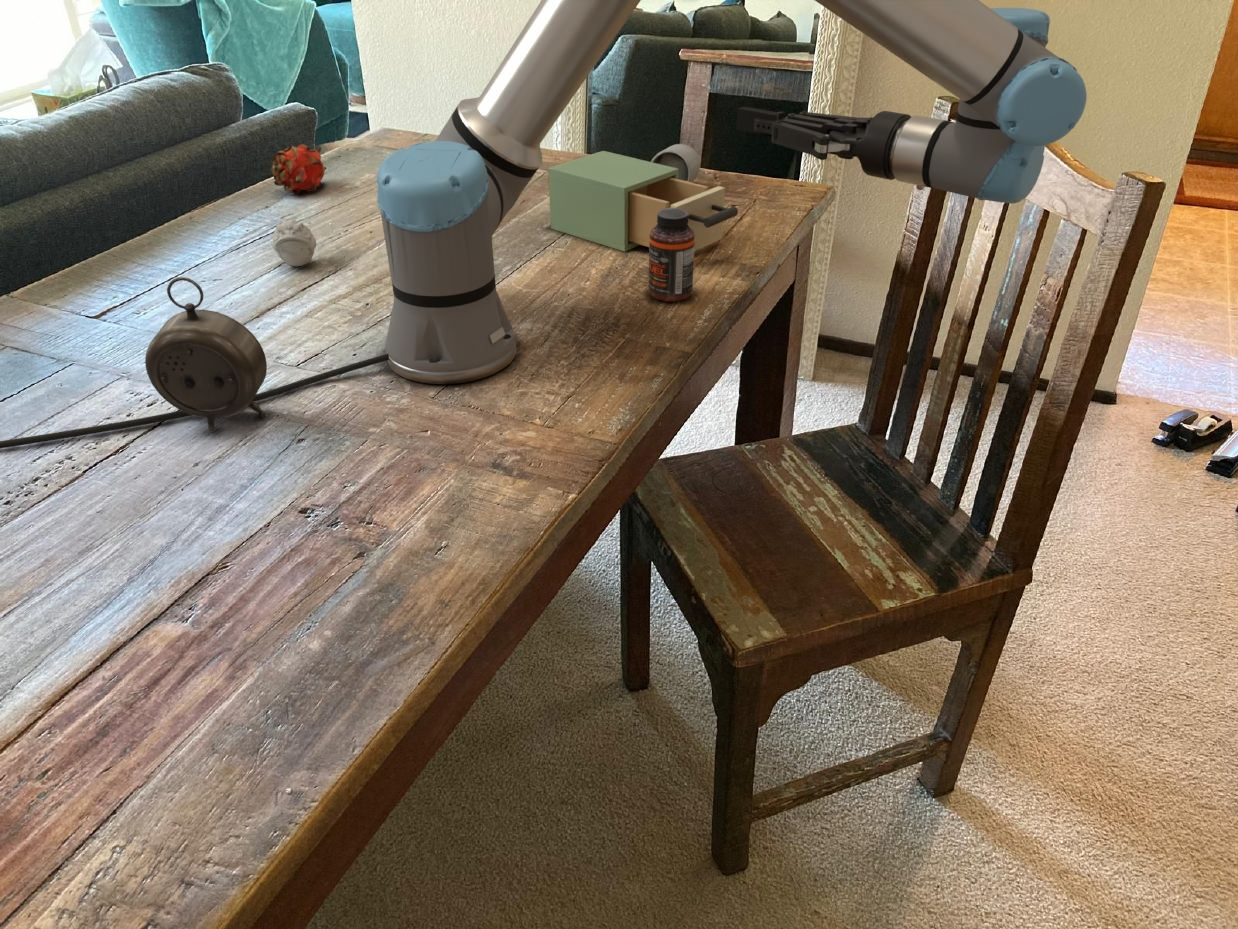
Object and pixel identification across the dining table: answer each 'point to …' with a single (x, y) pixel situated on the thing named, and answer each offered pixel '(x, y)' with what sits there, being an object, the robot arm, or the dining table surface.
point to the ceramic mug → (680, 161)
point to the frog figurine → (293, 242)
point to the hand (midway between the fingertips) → (740, 117)
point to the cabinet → (599, 195)
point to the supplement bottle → (671, 256)
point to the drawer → (679, 194)
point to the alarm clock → (206, 363)
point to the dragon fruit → (297, 169)
